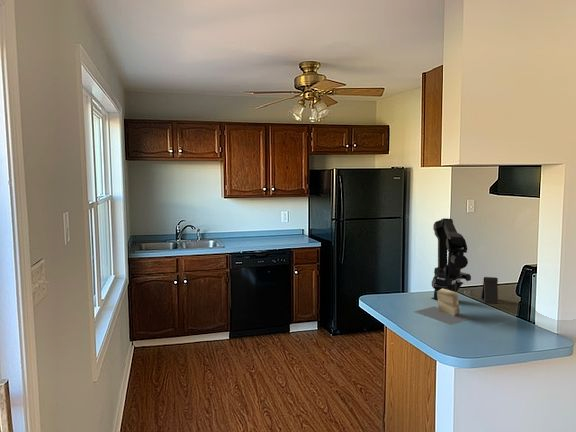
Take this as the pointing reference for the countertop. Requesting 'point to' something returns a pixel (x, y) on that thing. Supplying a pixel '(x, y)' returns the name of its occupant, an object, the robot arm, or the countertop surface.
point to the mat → (442, 315)
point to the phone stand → (490, 290)
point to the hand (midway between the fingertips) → (452, 297)
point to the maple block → (448, 302)
